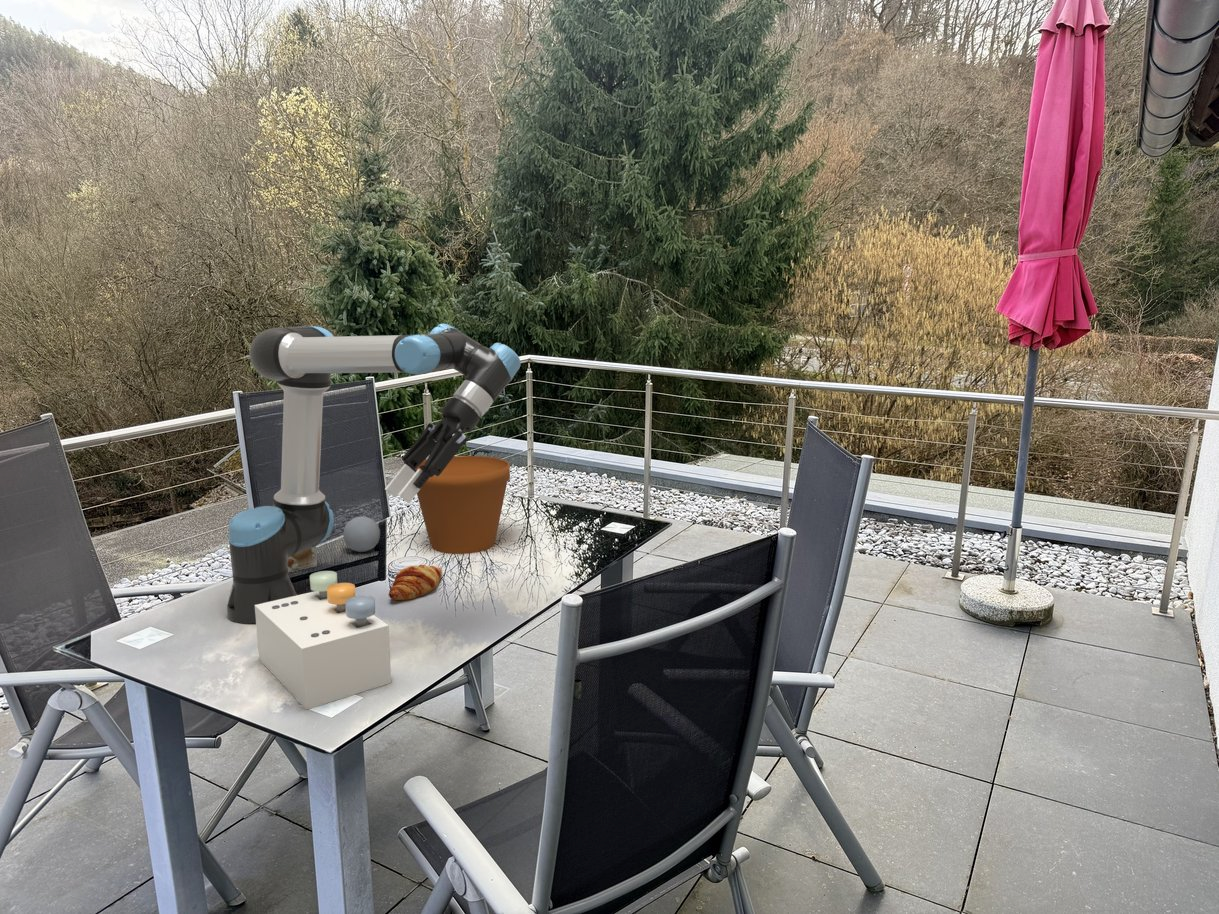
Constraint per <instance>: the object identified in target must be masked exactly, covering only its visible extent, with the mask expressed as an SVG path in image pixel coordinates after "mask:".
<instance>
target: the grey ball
mask: <svg viewBox="0 0 1219 914" xmlns="http://www.w3.org/2000/svg"><path fill="white" fill-rule="evenodd" d="M342 535H343V541H344V543H345V545H346V546H347V547H348V548H349V549H350V550H352V551H354V552H358V553H363V552H368V551H370V550H372V549H374V548H375V547H376V545H378V543H379V541H380V538H381V537H380V536H381V529H380V527H379V525H378V523H377V522H376V521H375V520H374V519H373V518H371V517H369V516H368V517H367V516H356V517H354V518H351V520H349V521H348V522H347V523H346V525H345V527H344V529H343V533H342Z"/></svg>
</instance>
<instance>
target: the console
mask: <svg viewBox="0 0 1219 914" xmlns="http://www.w3.org/2000/svg"><path fill="white" fill-rule="evenodd" d="M255 616H256V623H255V627H256V638H257V640H256V641H257V649H258V650H257V651H258V660H259V661H260V662H261V664H263V665H264V666H265V667H266V668H267V669H268V671H270V673H271V674H272V675H273V676H274V677H275V678H276V679H277V680H278V681H279V682H280V683H281V684H282V685H283V687H284V688H285V689H286V690H287V691H288V692H289V693H290V694H291V695H292V696H293V697H294V698H295V699H296V700H297V702H299V704H300V705H302V707H303V708H304V709H305V710H306V711H307V710H310V709H313V708H316V707H319V706H323V705H325V704H328V703H333V702H335V701H338V700H341V699H344V698H347V697H350V696H354V695H357V694H361V693H363V692H367V691H370V690H372V689H375V688H379V687H382V686H385V685H388V684H391V683H392V670H391V652H390V651H391V648H390V633H389V632H390V631H389V629H390V628H389V625H388V624H387V623H385V621H383V620H382V619H380V618H379V617H377V616H376V615H375V614H374V615H372V616H370V617H367V626H363V627H359V628H356V619H352V618H348V617H347V616H346V612H342V613H337V605H335V604H330V603H328V600H327V599H323V600H320V596H319V591H311V592H306V593H302V594H297V596H292V597H288V598H283V599H279V600H275V601H270V602H266V603H262V604H257V605H255Z"/></svg>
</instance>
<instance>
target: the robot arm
mask: <svg viewBox="0 0 1219 914" xmlns="http://www.w3.org/2000/svg"><path fill="white" fill-rule="evenodd" d="M249 347H250V348H249V360H250V362H251V365H252V367H253V369H254V370H255V371H256V372H257V374H259V375H260V376H262V377H264V378H265V379H268V380H271V381H275V382H276V383H277V386H279V387H280V388H281V389H282V390H283V406H282V407H283V408H282V409H283V413H282V415H283V416H282V439H281V440H282V442H281V443H282V445H281V446H282V447H281V471H280V472H281V474H280V475H281V478H280V489H279V490H278V491H277V492H276V493H275V494H274V495H273V505H263V506H256V507H254V508H252V507H251V508H247V509H245V510H242V511H240V512H238V513H236V514H234V516H233V517H232V518H231V519H230V520H229V523H228V535H227V539H228V544H229V552H230V553H229V554H230V562H231V563H230V564H231V572H232V586H231V590H230V594H229V596H228V601H227V605H226V611H227V613H226V614H227V617H228V620H230V621H232V622H235V623H238V624H240V623H241V624H256V616H255V605H257V604H262V603H266V602H270V601H275V600H279V599H283V598H288V597H292V596H297V595H298V593H297V592H296V590H295V587H294V585H293V582H292V581H291V579H290V576H289V573H288V565H287V558H288V557H290V556H293V555H295V554H297V553H299V552H302V551H304V550H306V549H310V548H313V547H315V546H316V547H317V546H318V545H319V544H321V543H322V542H323V543H324V541H325V540H326V539H328V537H330V535H331V533H332V531H333V528H334V525H335V517H334V512H333V510H332V509H330V507H331V506H330V504H329V503H328V502H327V501H326V495H325V494H324V493H323V492H322V491H321V490H320V475H321V473H320V472H321V456H322V455H321V453H322V451H321V450H322V429H323V428H322V427H323V426H322V425H323V407H324V406H323V405H324V404H323V403H324V393H325V392H326V391H328V390H329V389H330V388H331V381H332V379H331V376H332V374H358V373H359V374H361V373H362V374H365V373H367V374H372V373H373V374H374V373H375V374H377V373H379V374H380V373H382V374H383V373H388V374H389V373H407V374H410V375H426V374H429V373H431V372H436V371H437V372H438V371H444V370H449V369H453V370H455V371H456V372H458V373H460V374H461V375H463V376H465V377H466V378H465V379H464V381H463V382H462V383H461V385H460V386H459V387H458V388H457V389H456V390H455V392H454V393H453V397H450V398H449V400H448V401H446V403H445V405H443V407H442V409H441V414H442V415H443V417H442V419H441V420H440V421H438V422H436V424H433V423H431V422H428V423H427V425H426V426H425V428H424V430H423V432H422V433H421V434H420V435H419V436H418V438H417V439H416V440H415V441H414V443H413V444H412V445H411V446H410V448H409V449H407V451H406V452H405V454H404V455H403V456H402V457H401V460H402V461H403V466H401V468H400V469H399V470H398V472H397V473H396V474H395V475H394V477H393V478H392V479H391V480H390V481H389V482H388V484H387V486H386V487H385V488H384V490H385V491H387V492H388V493H389V494H390V495H391V496H392V497H393V498H397V496H399V497H400V498H401V499H403V500H404V501H405V502H406V503H407V504H410V503H411V502H412V501H413V499H414V498H415V497H416V496H417V493H418V491H419V490H420V489H421V488H422V486H423V485H424V484H425V482H426V481H427V480H428V479H429V477H433V476H434V475H436V476H439V475H440V474H441V473H442V471H443V470H444V469H445V467H446V466H447V465H448V463H449V462H450V461H451V459H452V458H453V457H454V456H455V455H456V454H457V453H458V452H459V450H460V448H462V446H464V445H465V444H466V443H467V442H468V440H469V438H468V437H467V436H466V435H465V433H470V432H472V431H473V430H474V428H475V427H476V426H477V425H478V423H479V422H480V419H481V418H482V417H483V416H484V415H485V414H486V413H487V412H488V411H489V410H490V407H491V406H492V405H493V403H494V402H495V401H496V399H497V398H499V396H500V394H501V393H502V392H503V391H504V389H505V388H506V387H507V386H508V385H509V383H510V382H512V380H513V379H514V376H516V374H517V372H518V371H519V369H520V367H521V364H522V363H521V359H520V357H519V355H518V354H517V353H516V352H515V351H514V350H513V349H512V348H510V347H509V346H507V344H504V343H503V344H502V343H501V342H495V343H493V344H492V345H491V346H490V347H487V346H484V345H483V344H481V343H480V342H478V341H476V340H475V339H473V338H471V337H470V336H468V335H467V334H465V333H463V332H461V330H459V329H458V328H456V327H453V326H451V325H449V324H447V323H439V324H438V325H437V326H435V327H433V329H431V331H430V332H429V333H428V334H404V335H402V334H399V335H398V334H397V335H392V334H390V335H358V336H357V335H356V336H355V335H351V336H345V335H344V336H334V334H332V332H331V331H329V330H327V329H325V328H324V327H321V326H314V325H298V326H287V327H273V328H268V329H265V330H263V331H262V332H259V333H258V334H257V335H256V336H255V338H253V340H252V342H251V344H250V346H249ZM480 417H481V418H480ZM424 460H427V461H426V462H425V464H424V465H421V466H419V465H420V464H421V463H422V462H423V461H424ZM418 466H419V467H420V468H421V469H422V470H423V471H422V470H420V469H418V470H416V468H417V467H418ZM411 477H412V478H411Z"/></svg>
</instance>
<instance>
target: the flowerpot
mask: <svg viewBox="0 0 1219 914" xmlns="http://www.w3.org/2000/svg"><path fill="white" fill-rule="evenodd" d="M426 461H427V459H425V460H424V461H423V462H422V463H421V464H420V465H419V466H421V465H424V464H425V462H426ZM419 466H418V467H417V468H416V470H418V469H420V470H422V469H421V468H420V467H419ZM510 466H511V464H510V462H509V461H507V460H505V459H501V458H497V457H494V456H493V457H492V456H482V455H481V456H479V455H456V456H455V455H454V457H453V458H452V459H451V461H450V462H449V463H448V465H447V466H446V467H445V469H444V470H443V471H442V473H441V474H440V475H439V476H436V475H434V476H433V477H429V479H428V480H427V481H426V482H425V484H424V485H423V486H422V488H421V489H420V490H419V491H418V493H417V494H416V496H417V499H418V504H419V506H420V510H421V514H422V515H421V516H422V519H423V521H424V526H425V529H426V534H427V537H428V540H429V543H430V548H431V549H432V550H434V551H436V552H439V553H443V554H448V555H449V554H450V555H451V554H452V555H467V554H475V553H479V552H480V553H481V552H483V551H488V550H489V549H491V548H493V547H494V546H495V544H496V539H497V534H498V529H499V525H500V519H501V514H502V510H503V505H504V500H505V494H506V489H507V486H508V481H509V480H510V479H511V471H510V470H511V467H510ZM422 471H423V470H422ZM411 478H412V477H411Z"/></svg>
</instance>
